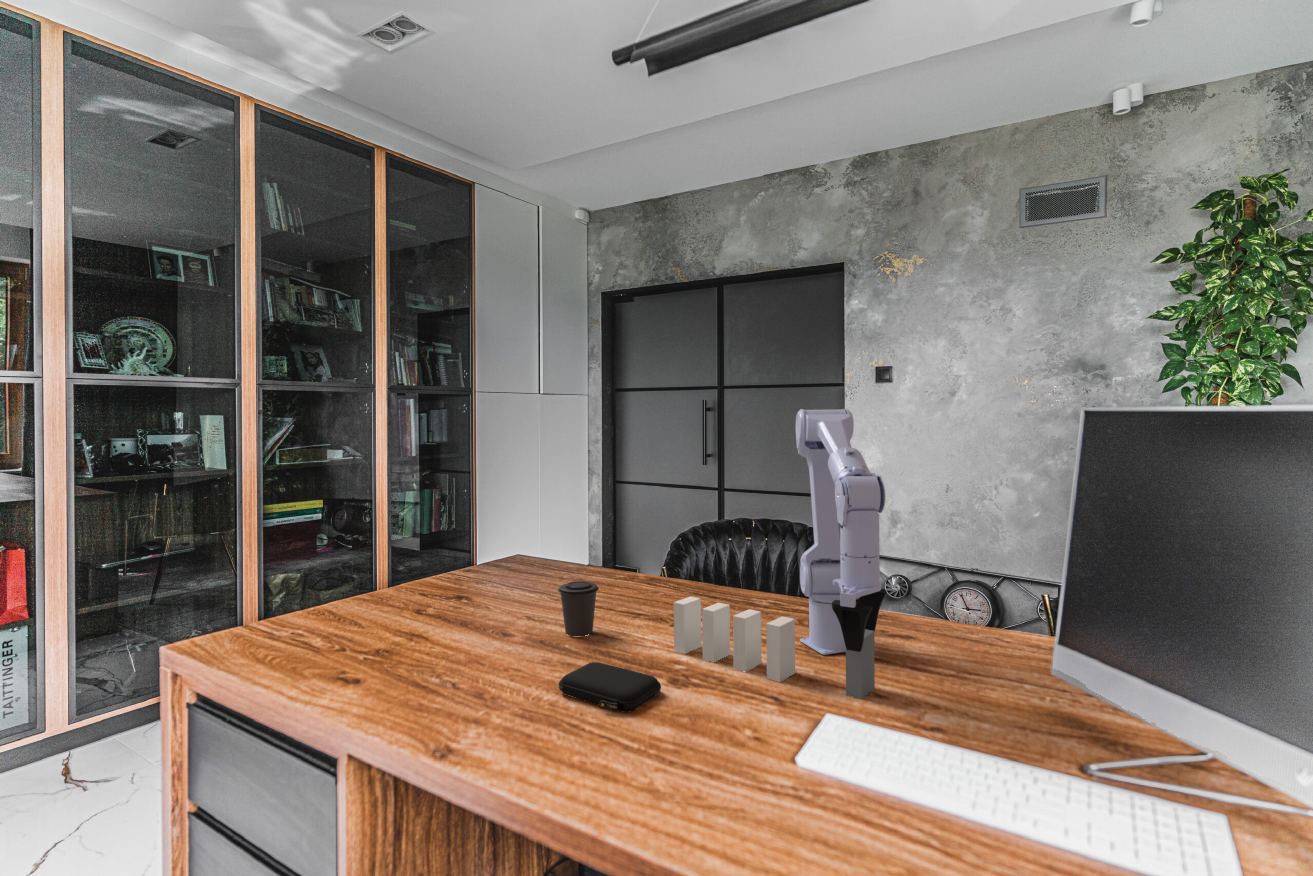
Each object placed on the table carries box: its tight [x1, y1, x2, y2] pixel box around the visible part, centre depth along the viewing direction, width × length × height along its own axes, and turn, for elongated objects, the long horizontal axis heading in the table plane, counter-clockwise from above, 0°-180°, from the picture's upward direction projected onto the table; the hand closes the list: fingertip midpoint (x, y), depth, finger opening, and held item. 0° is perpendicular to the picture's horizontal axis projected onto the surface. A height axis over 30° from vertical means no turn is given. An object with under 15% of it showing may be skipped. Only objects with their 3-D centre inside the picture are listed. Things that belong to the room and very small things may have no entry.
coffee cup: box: [557, 580, 599, 636], centre depth 125 cm, size 8×8×10 cm
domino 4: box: [765, 615, 796, 683], centre depth 103 cm, size 2×5×9 cm, turn 139°
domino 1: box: [673, 595, 702, 655], centre depth 116 cm, size 2×5×9 cm, turn 139°
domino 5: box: [845, 629, 876, 700], centre depth 96 cm, size 2×5×9 cm, turn 139°
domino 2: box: [701, 602, 731, 663], centre depth 111 cm, size 2×5×9 cm, turn 139°
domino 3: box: [732, 608, 762, 673], centre depth 107 cm, size 2×5×9 cm, turn 139°
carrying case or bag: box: [558, 661, 662, 713], centre depth 97 cm, size 11×3×15 cm
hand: (860, 642), depth 96 cm, fingers open, 7 cm apart
